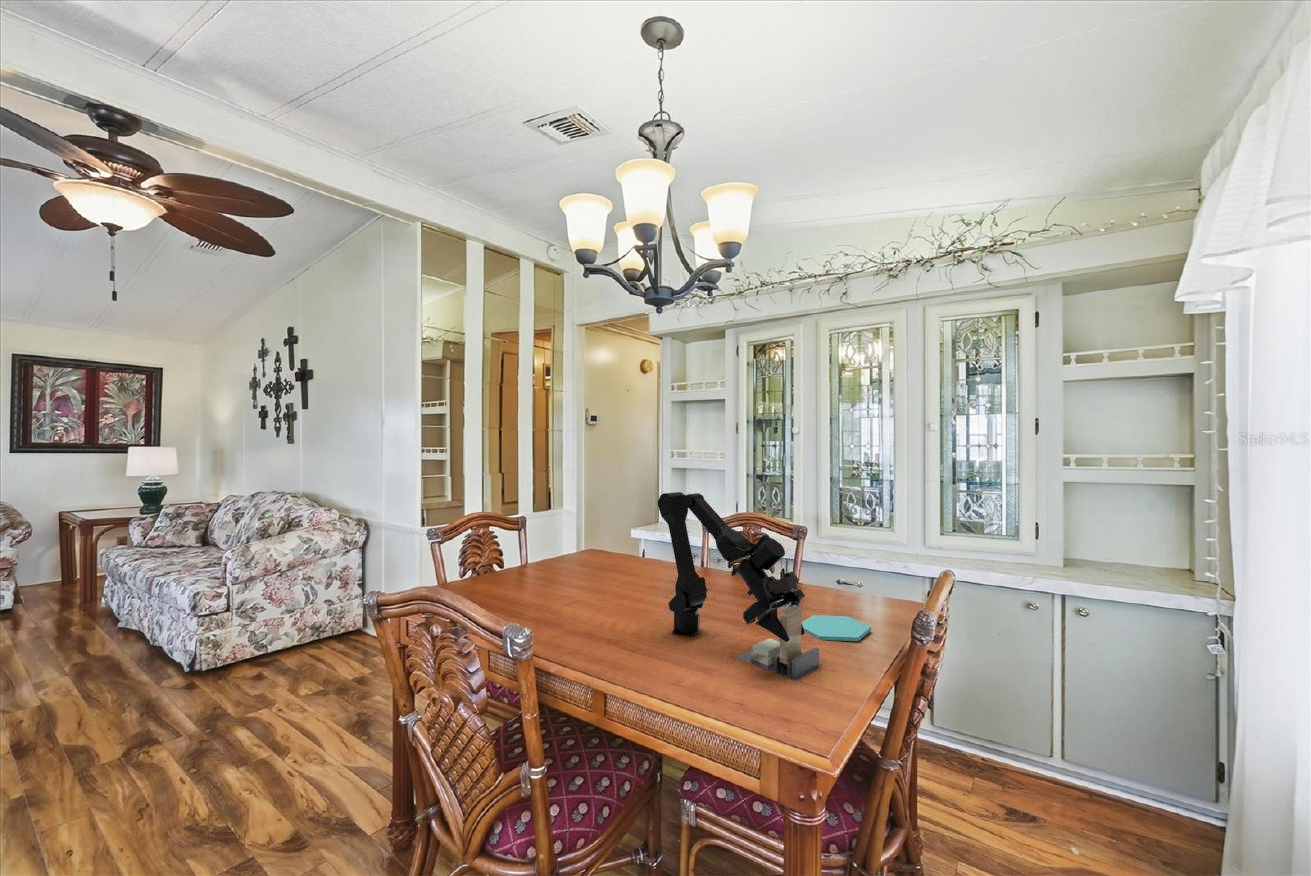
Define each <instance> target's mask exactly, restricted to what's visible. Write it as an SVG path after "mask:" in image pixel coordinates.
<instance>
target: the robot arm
mask: <svg viewBox="0 0 1311 876" xmlns="http://www.w3.org/2000/svg"><path fill="white" fill-rule="evenodd" d="M657 506H658V510H659V513H660V517H661V518H662V519H663V520H664V522H666V524H667V527H668V531H669V534H670V539H671V545H672V549H673V555H674V559H675V566H676V571H677V578H676V582H675V585H674V589H675V595H674V596H673V597H672V598H671V599H670V601H669V602H668V607H669V611H670V612H672V613H673V630H672V632H671V633H672V634H674V635H683V636H684V635H685V636H691V637H692V636H693V637H694V636H696V635H697V633H698V632H699V631H700V629H701V627H700V625H701V623H700V622H701V615H700V614H699V609H703V605H704V603H705V601H706V599H707V597H708V596H707V592H708V591H709V590H708V588H707V585H706V579H705V577H704V576H702V577H701V576H700V575H699V574H698V573H697V571H696V568H695V562H694V558H693V554H692V548H691V543H690V537H689V533H688V529H687V528H688V527H687V523H686V520H687V516H688V514H689V510H690V512H691V513H692V514H693V515H694V516H695V518H696V519H697V520H698V521H699V522H700V523H701V525H703V526H704V528H705V530H706V531H707V532H708V533H709V534H710V535H711V536H712V538H713V539H714V540H715V546H716V550H718V552H719V553H720V555H721V556H722V559H724V560H725V561H726V562H736V561H740V560H741V561H740V562H739V563H736V564H732V571H731V576H732V577H735V576H739V575H740V577H741V579H742V580H743V582H744V584H745V585H746V586H747V589H749V590H748V591H747V594H748V597H750V596H753V597H754V598H755V600H756V601H755V602H753V603H752V604H751V605H749V607H747V608H746V609H745V610H744V611H743V612H742V619H743V621H744V622H745V624H746V626H749V625H751V624H754V623H755V626H760V627H761V628H763V629H765V630H766V631H768V632H770V633H772V634H773V635H774V636H776V637H778V638H779V639H780V638H781V639H782V640H784V641H785V642H788V641H789V640H790V639H789V637H788V635H787V633H786V631H785V629H784V628H783V626H782V624H781V623H780V618H779V617H778V609H780V610H783V609H785V608H788V607H791V606H793V605H796V606H799V604H801V600H803V599H804V598H805V594H804V593H803V591H802V589H800V588H799V587H798V584H799V581H800V579H799V577H798V576H797V575H796V574H795V573H794V572H793V571H789V572H786V573H784V574H783V578H779V579H776V577H774V576H773V575H771V576H769V575H768V574H767V572H766V571H769V570H771V569H772V568H773V567H774V566H775V565H776V564H778V563H779V561H780V560H781V559H782V558H784V557H785V556H786V551H785V548H784V546H783V545H782V543H780V542H779V541H778V540H776V539H774V538H772V537H770V535H769V534H763V535H762V536H760V538H759V539H758V541H757V542H756V543H753V542H751V541H750V539H748V538H747V537H746V536H745V535H743V534H742V533H741V532H740V531H738V530H735V529H734V528H731V527H730V526H729V525H728V524H727V523H726V522H725V520H723V519H722V517H721V516H720V515H719V513H717V511H715V510H714V508H712V506H711V505H710V504H709V503H708V502H707V501H706V499H705V497H704V495H703V494H701V493H698V492H696V493H687V494H684V493H683V492H681V491H675V492H665V493H664V492H663V493H662V494H660V496H659V498H658V499H657ZM756 620H757V621H756ZM802 622H803V621H801V636H803V635H804V634H805V633H806V632H805V631H804V629H803V625H802Z"/></svg>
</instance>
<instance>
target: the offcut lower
mask: <svg viewBox="0 0 1311 876" xmlns="http://www.w3.org/2000/svg"><path fill="white" fill-rule="evenodd" d="M778 654H780V652H778V653H776V654H774V655H772V656H770V657H766V656H763V655H760V654H757V653H755V652H752V653H751V660H754V661H757V662H759V663H762V664H765V665H767V666H769V665H771V664H773V663H774V656H776V655H778Z"/></svg>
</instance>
